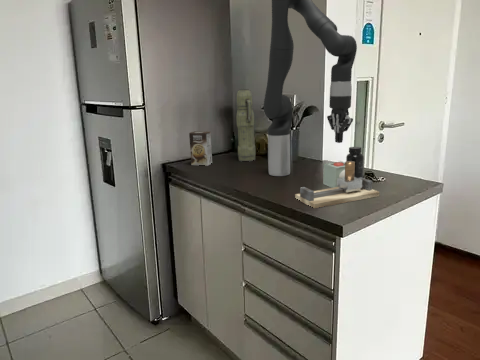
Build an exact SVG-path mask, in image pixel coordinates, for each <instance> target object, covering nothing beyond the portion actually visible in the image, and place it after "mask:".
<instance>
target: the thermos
mask: <svg viewBox="0 0 480 360" xmlns="http://www.w3.org/2000/svg"><path fill="white" fill-rule="evenodd" d="M236 106H237V108H236V109H237V112H236V116H235V117H236V127H237V136H238V137H237V138H238V140H237V143H238V145H237V157H238V161H239V162H242V161H249V162H254V161H256V154H257V153H256V145H255V132H254V131H255V130H254V128H255V113H254V108H253V93H252V91H251V90H250V89H249V88H247V89H244V88H243V89H242V88H241V89H239V90H237V94H236ZM253 160H254V161H253Z"/></svg>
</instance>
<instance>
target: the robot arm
mask: <svg viewBox="0 0 480 360" xmlns="http://www.w3.org/2000/svg"><path fill="white" fill-rule="evenodd" d="M289 9H293V10H294V11H296V12H297V13H299V14H300V15H301V16H302V17H303V18H304V21H305V23H306V25H307V27H308V28H309V30H310V31H311V32H312V33H313V34H314V35H315V36H316V37H317V39H319V40H320V41H321V43H322V45H323V46H324V48H325V50H326V51H327V52H328V54H330V55H331V56H333V57H338V58H337V61H336V63H335V64H333V65H332V66H331V70H330V73H331V74H330V87H329V104H328V105H329V108H330V109H331V112H330V113H331V114H330V115H327V116H326V119H327V121H328V123H329V126H330V129H331V130H332V131H333V132H334V136H335V137H334V141H335V143H337V144H340V143H343V141H344V132H347V131H348V130H349V128H350V127H351V125H352V123H353V122H354V118H352V117H350V116H349V115H350V113H349V109H350V108H351V107H352V90H353V89H352V74H353V73H352V72H353V71H352V70H353V65H354V62H355V60H356V56H357V49H358V47H357V41H356V39H355V37H353V36H352V35H348V34H347V35H346V34H340V33H339V32H338V26H337V24H336V23H335V22H333V21H332V20H331V18H329V17H328V16H327V15H326V14H325V13H324V12H323V11H321V10H320V8H318V6H317V5H316V4H315V3H314V2H313V0H271V30H270V31H271V33H270V45H269V57H268V59H269V60H268V71H267V72H268V73H267V82H266V90H265V94H264V100H263V113H264V114H265V116H266V117H267V118H268V119H270V120H272V121H271V124H270V125H269V127H268V128H267V162H268V167H267V168H268V175H270V176H271V177H272V176H274V177H285V176H289V175H290V174H291V141H290V140H291V139H290V138H291V136H290V135H291V133H290V132H291V128H292V121H293V120H292V119H293V105H292V100H291V98H290V97H288V96H287V95H285V94H283V90H284V84H285V81H286V79H287V76H288V74H289V72H290V70H291V68H292V67H291V66H292V64H293V59H294V48H295V47H294V46H295V45H294V40H293V36H292V33H291V29H290V26H289V21H288V20H289Z"/></svg>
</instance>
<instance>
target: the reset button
mask: <svg viewBox="0 0 480 360" xmlns="http://www.w3.org/2000/svg"><path fill="white" fill-rule="evenodd" d="M342 162H343V161H341V162H340V161H335V163H334V166H337V167H338V166H343V165H344V163H342Z"/></svg>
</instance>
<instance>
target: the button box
mask: <svg viewBox="0 0 480 360" xmlns="http://www.w3.org/2000/svg"><path fill="white" fill-rule="evenodd" d="M335 162H336V161H335ZM335 162H328V163H323V171H322V172H323V174H322V177H323V178H322V179H323V180H322V181H323V182H322V184H323V185H325V186H327V187H329V188H334V187H338V186H337V178H342V177H345V162H346V161H345V162H344V161H341V160H340V161H339V162H342V163H344V165H343V166H338V167H337V166H334V163H335Z"/></svg>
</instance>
